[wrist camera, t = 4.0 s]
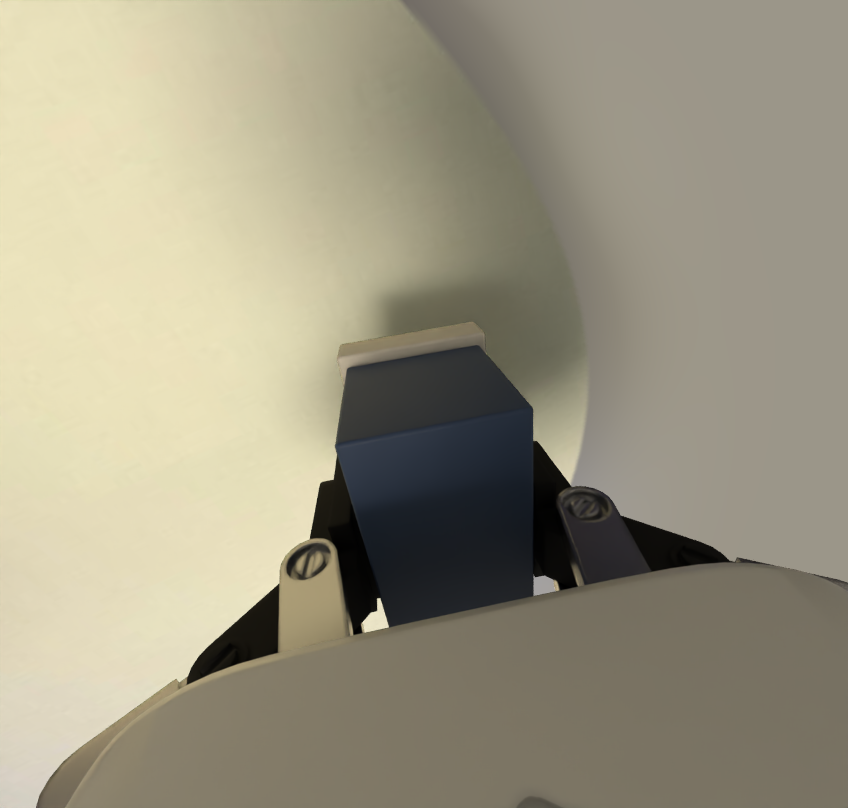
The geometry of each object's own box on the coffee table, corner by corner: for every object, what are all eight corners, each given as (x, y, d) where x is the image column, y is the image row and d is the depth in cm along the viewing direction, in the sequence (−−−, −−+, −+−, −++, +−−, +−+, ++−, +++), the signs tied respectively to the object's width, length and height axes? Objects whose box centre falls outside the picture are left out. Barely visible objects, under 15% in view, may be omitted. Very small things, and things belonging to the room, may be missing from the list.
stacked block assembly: (339, 343, 11) (317, 433, 6) (474, 320, 11) (546, 390, 6) (393, 558, 15) (403, 703, 10) (490, 538, 15) (541, 672, 11)
